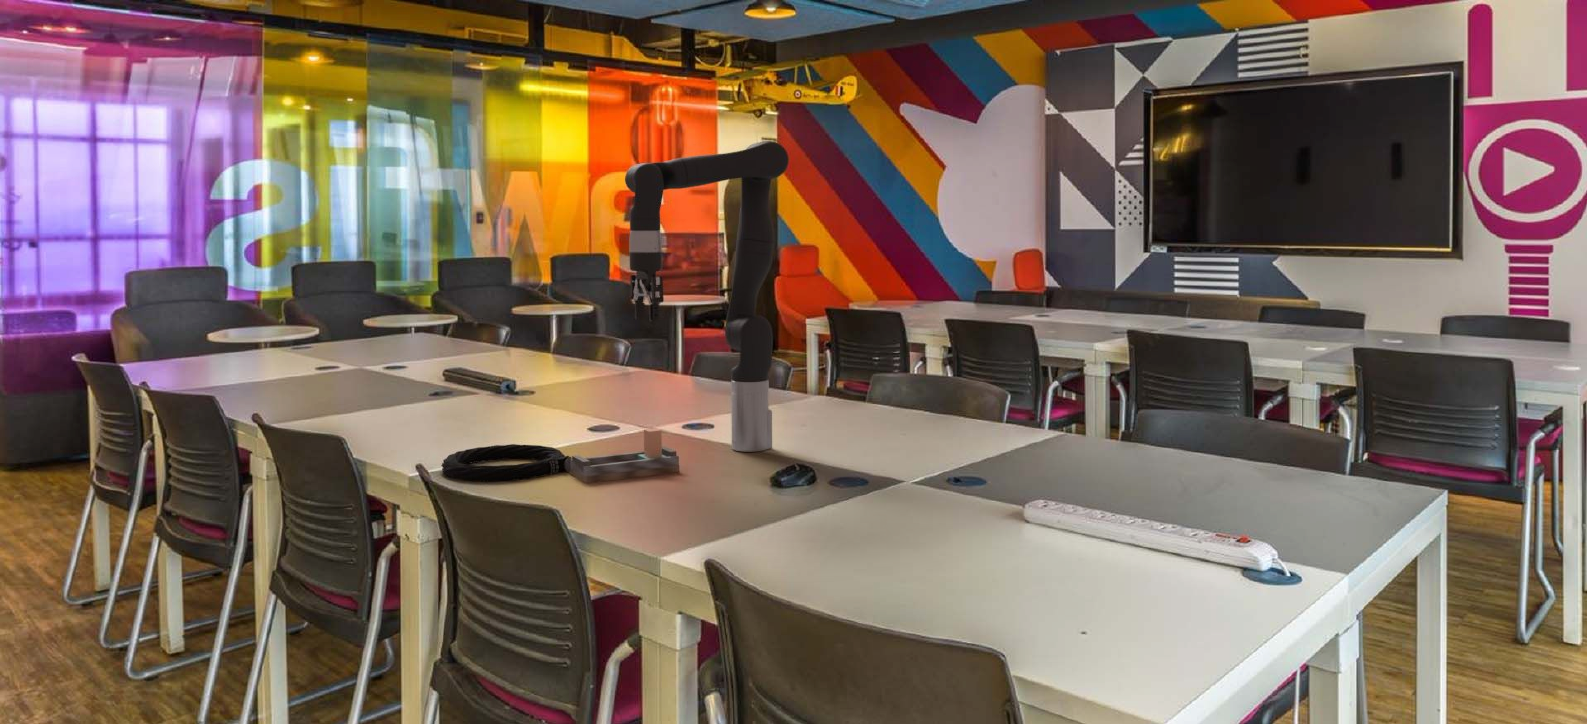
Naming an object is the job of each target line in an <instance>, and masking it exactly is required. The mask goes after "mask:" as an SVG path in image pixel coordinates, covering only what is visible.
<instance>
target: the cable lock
mask: <svg viewBox="0 0 1587 724" xmlns="http://www.w3.org/2000/svg"><path fill="white" fill-rule="evenodd" d="M508 459H509V460H510V459H511V460H512V459H514V460H524V459H525V460H533V462H524V463H518V464H502V465H476V464H475V465H474V464H473V463H481V462H487V461H494V460H498V461H499V460H508ZM570 459H572V456H569V455H565V454H564V453H563V452H562V451H561V450H560V449H557V448H555V447H552V446H551V447H550V446H544V445H536V444H534V445H533V444H515V443H513V444H504V445H503V444H501V445H499V444H498V445H497V444H495V445H490V446H482V447H479V446H477V447H474V448H469V449H465V450H458V451H456V452H454V453H451V454H449V455H448V456H447V457H446V458H444V459H443V461H442V463H441V465H440V466H441V467H442V469H441V470H442V471H443V473H444V474H445V475H446V476H449V477H451V478H453V479H455V480H463V481H468V482H506V481H507V482H509V481H518V480H519V481H520V480H526V479H533V478H539V477H540V478H541V477H542V476H546V475H549V476H551V475H555V474H558V473H559V474H564V473H570V468H571V463H570ZM534 460H536V461H534Z"/></svg>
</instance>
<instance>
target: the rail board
mask: <svg viewBox="0 0 1587 724" xmlns="http://www.w3.org/2000/svg"><path fill="white" fill-rule="evenodd" d="M640 454H644V450H642V451H636V452H635V451H634V452H633V451H632V452H624V453H616V454H607V455H598V456H597V455H596V456H588V457H583V456H581V455H579V454H576V455H572V456H571V458H572V459H570V463H571V468H570V472H569V473H570V476H571V477H574V478H576V479H578V480H579V481H581V482H583V483H584V484H593V483H600V482H608V481H615V480H616V481H618V480H625V479H632V478H642V477H650V476H657V475H665V474H666V475H667V474H674V473H680V457H679V456H678V455H677V450H675V449H671V448H670V447H667V446H664V445H662V455H665V456H667V457H660V458H651V459H643V460H638V458H637V455H640Z"/></svg>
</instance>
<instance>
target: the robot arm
mask: <svg viewBox="0 0 1587 724" xmlns="http://www.w3.org/2000/svg"><path fill="white" fill-rule="evenodd" d="M789 160H790V159H789V154H788V151H787V149H786V148H785V147H784V146H783V145H782V144H780V143H779V142H776V141H772V140H763V141H759V142H755V143H752V144H750V145H749V146H747V147H746V149H742V150H738V151H733V152H725V153H723V152H722V153H714V154H703V155H693V156H692V155H691V156H685V157H679V158H673V159H669V160H666V161H657V162H644V163H637V164H633V165H632V166H631V167H629V169H628V170H627V171H626V172H625V176H624V182H625V185H626V187H627V189H628V190H629V191H631V192H632V193H634V203H633V206H632V207H631V208H630V210H629V230H630V231H629V240H628V243H629V244H628V247H629V248H628V251H629V252H628V253H629V255H628V257H629V270H630V271H631V272H635V274H630V276H629V279H630V280H629V281H630V285H629V295H630V300H632V301H633V303H634V317H635V319H637V320H638V319H639V320H640V319H641V320H642V319H645V317H646V313H645V312H646V306H645V305H646V304H645V300H646V299H647V303H648V317H649V318H648V320H649V321H650V322H658V321H660V305H661V303H664V278H663V276H662V275H661V276H658V275H657V272H660V271H662V270H663V247H662V246H663V245H662V243H663V241H662V234H661V232H662V231H661V206H662V202H663V197H664V196H663V194H664V191H665V190H680V189H689V188H694V187H699V186H700V187H701V186H705V185H709V184H714V183H718V182H724V181H730V180H737V179H741V191H740V192H741V197H740V205H739V207H740V208H739V216H738V224H737V225H738V228H737V235H736V243H735V244H736V245H735V254H734V255H735V256H734V270H733V277H732V286H731V295H730V300H729V305H728V310H727V314H726V318H725V326H724V336H725V338H724V339H725V341H726V343H727V344H728V346H729V347H730V348H731V349H733V350H735V351H738V352H739V362H738V364H737V365H736V366H734V367H732V368H731V371H730V393H731V394H730V396H731V397H730V399H731V400H730V401H731V407H730V408H731V413H730V414H731V416H730V417H731V419H730V420H731V449H732V450H734V451H738V452H743V453H744V452H746V453H747V452H749V453H751V452H754V453H755V452H762V451H767V450H770V449H773V410H772V409H769V407H770V406H769V405H770V402H769V400H770V397H769V394H770V393H769V385H770V384H769V376H770V375H769V374H770V371H771V369H772V364H773V346H774V343H773V341H774V340H773V339H774V338H773V329H772V326H771V323H770V322H769V320H768V319H767V318H766V317H764V316H762V315H756V310H757V299H758V297H759V296H758V295H759V292H760V289H761V288H762V285H763V283H764V281H765V279H766V277H767V276H768V274H769V271H770V269H771V267H772V264H773V259H774V249H775V229H774V228H775V227H774V224H773V219H772V216H771V209H770V203H769V202H770V191H771V183H772V180H773V179H777V178H779V177H780V176H782V175H783V174H784V173H785V172H786V170H787V169H788V165H789Z"/></svg>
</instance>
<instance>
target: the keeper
mask: <svg viewBox="0 0 1587 724" xmlns="http://www.w3.org/2000/svg"><path fill="white" fill-rule="evenodd" d="M662 437H663V436H662V430H661V429H659V428H646V429H643V451H644V454H640V455H637V458H638V460H643V459H651V458H660V457H667V456H665V455H662V446H663V444H662V443H663V442H662V440H663V438H662Z"/></svg>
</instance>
